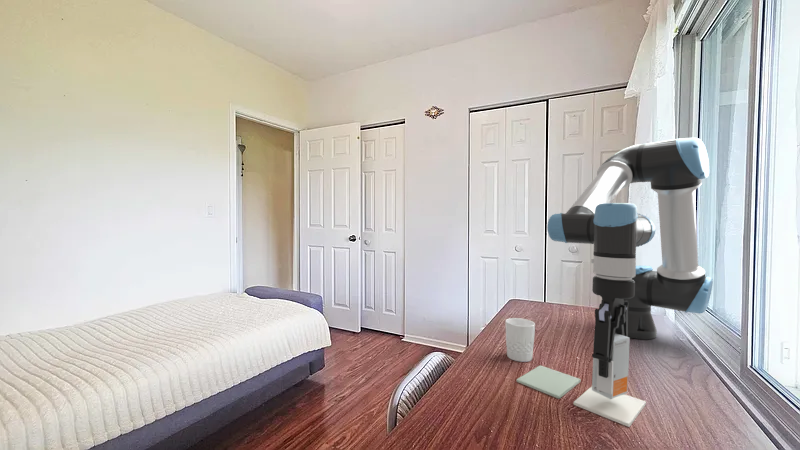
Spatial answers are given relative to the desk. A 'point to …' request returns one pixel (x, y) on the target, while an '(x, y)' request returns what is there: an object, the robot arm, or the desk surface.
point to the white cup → (520, 339)
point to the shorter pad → (549, 381)
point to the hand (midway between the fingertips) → (610, 385)
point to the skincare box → (616, 367)
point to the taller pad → (611, 406)
